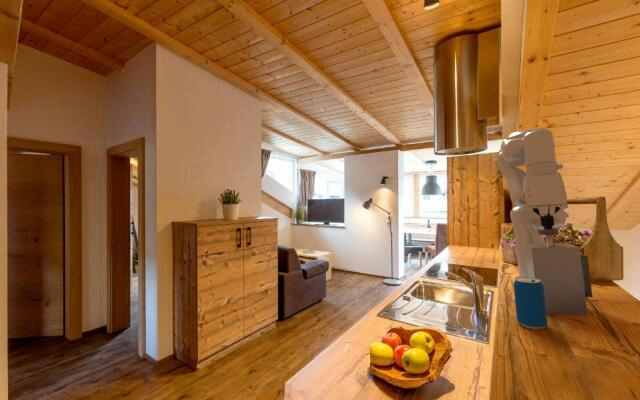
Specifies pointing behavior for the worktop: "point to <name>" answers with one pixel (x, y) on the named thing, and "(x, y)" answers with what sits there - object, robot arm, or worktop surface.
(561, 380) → the worktop surface
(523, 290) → the beverage can
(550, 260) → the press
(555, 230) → the plunger
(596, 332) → the worktop surface
